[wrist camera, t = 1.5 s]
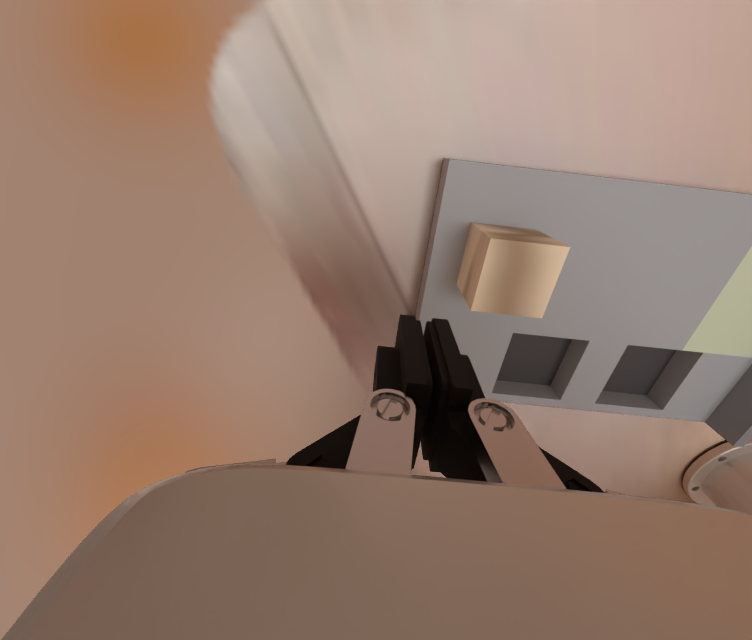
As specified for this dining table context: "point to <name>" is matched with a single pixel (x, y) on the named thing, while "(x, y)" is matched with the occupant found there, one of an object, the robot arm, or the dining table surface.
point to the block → (510, 269)
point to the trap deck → (607, 295)
